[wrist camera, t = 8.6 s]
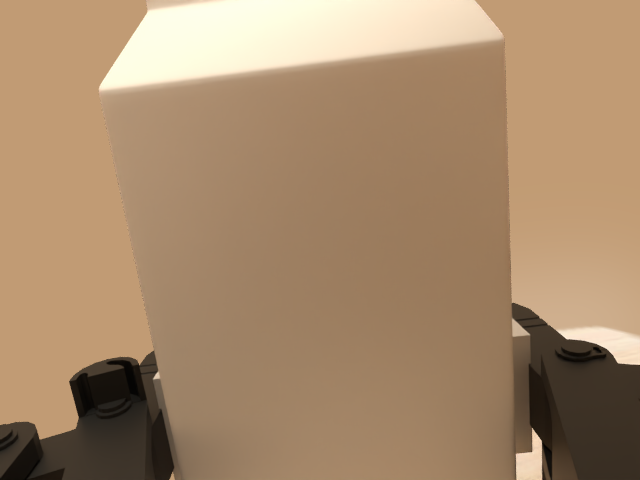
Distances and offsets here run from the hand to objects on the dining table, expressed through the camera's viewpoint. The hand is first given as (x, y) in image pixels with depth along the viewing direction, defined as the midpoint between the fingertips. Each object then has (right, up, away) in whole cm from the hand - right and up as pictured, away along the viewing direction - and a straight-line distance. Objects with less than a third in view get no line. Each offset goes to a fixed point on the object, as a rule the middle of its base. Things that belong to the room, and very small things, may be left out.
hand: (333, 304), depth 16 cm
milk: (+1, -13, -2) cm, 13 cm away
